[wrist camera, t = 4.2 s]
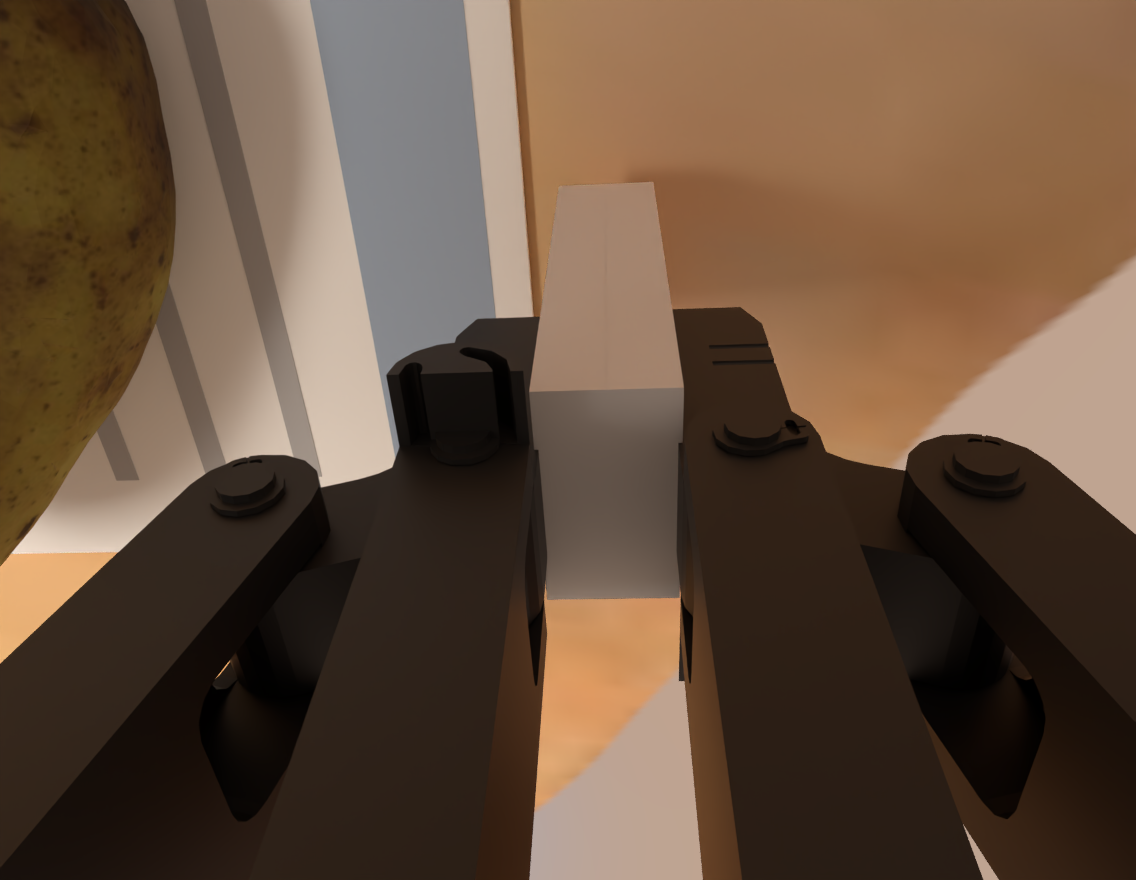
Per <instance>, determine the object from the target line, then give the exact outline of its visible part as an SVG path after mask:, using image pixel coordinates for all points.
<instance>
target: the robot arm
mask: <svg viewBox="0 0 1136 880" xmlns="http://www.w3.org/2000/svg"><path fill="white" fill-rule="evenodd" d="M386 378H387V383H388V388H389V394H390V399H391V405H392V410H393V415H394V421H395V426H396V431H397V437H398V442H399V449H398V452H397V455H396V458H395V461H394V464H393V467H392V468H390V469H387V470H385V471H383V472H381V473H379V474H375V475H372V476H368V477H365V478H361V479H358V480H353V481H348V482H344V483H339V484H335V485H330V486H326V487H321V485H320V481H319V477H318V473H317V470H315V469H314V468H313V467H312V466H311V465H310V464H309V463H307V462H306V461H305V460H302V459H298V458H295V457H291V456H287V455H256V456H249V458H246V457H244V458H240V459H236V460H233V461H231V462H229V463H227V464H225V465H222V466H220V467H218V468H215V469H213V470H210V471H209V472H207V473H206V474H204V475H203V476H202V477H200V478H199V479H197V480H196V481H195V482H193V483H192V484H190V485H189V486H188V487H187V488H186V489H185V490H184V491H183V492H182V493H181V494H180V495H178V496H177V497H176V498H175V499H174V500H173V501H172V502H171V503H170V504H169V505H168V506H167V507H166V508H165V509H164V510H163V511H162V512H160V513H159V514H158V515H157V516H156V517H155V518H154V519H153V520H152V521H151V522H150V523H149V524H148V525H147V526H146V527H145V528H144V529H142V530H141V531H140V532H139V533H138V534H137V535H136V536H135V537H134V538H133V539H132V540H131V541H130V542H129V543H128V544H127V545H126V546H124V547H123V548H122V549H121V550H120V551H119V552H118V553H117V554H116V555H115V556H114V557H113V558H112V559H111V560H110V561H109V562H108V563H106V564H105V565H104V566H103V567H102V568H101V569H100V570H99V571H98V572H97V573H96V574H95V575H94V576H93V577H92V578H91V579H90V580H88V581H87V582H86V583H85V584H84V585H83V586H82V587H81V588H80V589H79V590H78V591H77V592H76V593H75V594H74V595H73V596H72V597H70V598H69V599H68V600H67V601H66V602H65V603H64V604H63V605H62V606H61V607H60V608H59V609H58V610H57V611H56V612H55V613H54V614H52V615H51V616H50V617H49V618H48V619H47V620H46V621H45V622H44V623H43V624H42V625H41V626H40V627H39V628H38V629H37V630H36V631H34V632H33V633H32V634H31V635H30V636H29V637H28V638H27V639H26V640H25V641H24V642H23V643H22V644H21V645H20V646H19V647H18V648H16V649H15V650H14V651H13V652H12V653H11V654H10V655H9V656H8V657H7V658H6V659H5V660H4V661H3V662H2V663H1V664H0V880H529V876H530V861H531V847H532V834H533V820H534V807H535V793H536V779H537V765H538V751H539V737H540V724H541V710H542V696H543V682H544V668H545V654H546V640H547V628H546V617H545V606H544V593H545V581H546V590H547V600H554V599H625V598H680V591H681V612H680V657H679V681H685V690H686V699H687V700H686V701H687V712H688V722H689V733H690V744H691V755H692V765H693V776H694V787H695V798H696V809H697V820H698V830H699V841H700V852H701V863H702V873H703V880H983V878H982V875H981V872H980V870H979V867H978V864H977V861H976V859H975V856H974V853H973V851H972V848H971V845H970V842H969V840H968V837H967V834H966V832H965V829H964V826H965V827H966V829H967V831H968V832H969V834H970V835H971V837H972V839H973V840H974V841H975V843H976V845H977V846H978V848H979V849H980V851H981V852H982V854H983V855H984V857H985V859H986V860H987V862H988V863H989V865H990V866H991V868H992V869H993V871H994V873H995V874H996V876H997V877H998V879H999V880H1136V534H1134V533H1133V532H1132V531H1131V530H1129V529H1128V528H1127V527H1126V526H1125V525H1124V524H1122V523H1121V522H1120V521H1119V520H1118V519H1116V518H1115V517H1114V516H1113V515H1112V514H1110V513H1109V512H1108V511H1107V510H1106V509H1105V508H1103V507H1102V506H1101V505H1100V504H1099V503H1097V502H1096V501H1095V500H1094V499H1093V498H1091V497H1090V496H1089V495H1088V494H1087V493H1086V492H1084V491H1083V490H1082V489H1081V488H1080V487H1078V486H1077V485H1076V484H1075V483H1074V482H1072V481H1071V480H1070V479H1069V478H1067V477H1066V476H1065V475H1064V474H1063V473H1062V472H1060V471H1059V470H1058V469H1057V468H1056V467H1055V466H1053V465H1052V464H1051V463H1050V462H1048V461H1047V460H1045V459H1043V458H1042V457H1040V456H1039V455H1037V454H1035V453H1034V452H1032V451H1031V450H1029V449H1027V448H1025V447H1022V446H1019V445H1016V444H1014V443H1011V442H1008V441H1005V440H1003V439H1000V438H997V437H992V436H987V435H986V436H982V435H977V434H960V435H942V436H939V437H936V438H933V439H930V440H926V441H923V442H921V443H920V444H919V445H918V446H917V447H915V448H914V449H913V450H912V451H911V452H910V453H909V454H908V459H907V465H906V470H905V471H903V470H897V469H891V468H885V467H879V466H873V465H867V464H863V463H858V462H854V461H850V460H846V459H843V458H840V457H838V456H835V455H833V454H830V453H827V452H826V451H825V448H824V445H823V443H822V440H821V437H820V435H819V434H818V432H817V431H816V430H815V428H814V427H813V426H812V424H811V423H810V422H809V421H807V420H805V419H804V418H802V417H800V416H799V415H797V414H795V413H793V412H792V411H791V409H790V406H789V403H788V400H787V397H786V394H785V391H784V388H783V385H782V382H781V379H780V376H779V373H778V370H777V367H776V364H774V358H773V355H772V353H771V350H770V347H768V341H767V338H766V335H765V332H764V329H763V326H762V324H761V323H760V322H759V321H758V320H756V319H755V318H754V317H752V316H751V315H750V314H748V313H747V312H746V311H744V310H743V309H742V308H741V307H733V308H703V309H672V304H671V297H670V290H669V284H668V277H667V270H666V263H665V257H664V250H663V243H662V237H661V230H660V223H659V216H658V210H657V203H656V196H655V190H654V183H653V182H637V183H613V184H588V185H564V186H559V188H558V195H557V202H556V209H555V216H554V223H553V230H552V237H551V244H550V251H549V258H548V265H547V271H546V278H545V285H544V292H543V299H542V306H541V313H540V317H515V318H484V319H476V320H475V321H474V322H473V323H472V324H471V325H469V326H468V327H467V328H466V329H465V330H464V331H462V332H461V333H460V334H459V335H458V336H457V337H456V340H455V343H447V344H439V345H435V346H432V347H429V348H425V349H422V350H419V351H416V352H413V353H412V354H410V355H408V356H406V357H405V358H403V359H401V360H399V361H398V362H396V363H395V365H394V366H393V367H392V368H391V369H390V371H389V372H388V373H387V374H386ZM229 660H230V663H229V664H228V665H227V667H226V668H225V669H224V671H223V672H222V673H221V674H220V676H218V674H219V673H220V672H221V671H222V669H223V668H224V667H225V665H226V664H227V663H228V662H229ZM217 676H218V677H217ZM216 677H217V678H216ZM215 678H216V679H215ZM963 824H964V826H963Z"/></svg>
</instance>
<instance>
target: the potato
mask: <svg viewBox="0 0 1136 880" xmlns="http://www.w3.org/2000/svg"><path fill="white" fill-rule="evenodd" d="M175 227H176V190H175V183H174V175H173V168H172V161H171V153H170V149H169V144H168V139H167V134H166V130H165V125H164V120H163V115H162V109H161V103H160V97H159V91H158V86H157V80H156V77H155V73H154V70H153V66H152V63H151V59H150V56H149V53H148V49H147V46H146V42H145V39H144V36H143V34H142V32H141V31H140V29H139V27H138V25H137V23H136V21H135V19H134V17H133V15H132V13H131V11H130V9H129V7H128V5H127V3H126V1H125V0H0V566H1V565H2V564H3V563H4V561H5V560H6V559H7V558H8V557H9V555H10V554H11V553H12V552H13V551H14V549H15V548H16V547H17V546H18V545H19V543H20V542H21V541H22V540H23V539H24V537H25V536H26V535H27V534H28V533H29V531H30V530H31V529H32V528H33V526H34V525H35V524H36V522H37V521H38V519H39V518H40V517H41V515H42V514H43V513H44V511H45V510H46V509H47V507H48V506H49V504H50V503H51V501H52V500H53V498H54V497H55V495H56V494H57V492H58V490H59V489H60V487H61V485H62V484H63V482H64V480H65V478H66V477H67V475H68V473H69V472H70V470H71V469H72V467H73V466H74V464H75V463H76V461H77V460H78V458H79V456H80V455H81V453H82V452H83V450H84V448H85V447H86V445H87V444H88V442H89V441H90V439H91V438H92V437H93V435H94V434H95V433H96V431H97V430H98V429H99V427H100V426H101V425H102V423H103V422H104V421H105V419H106V418H107V417H108V415H109V414H110V413H111V411H112V410H113V409H114V407H115V406H116V405H117V403H118V402H119V400H120V399H121V397H122V396H123V394H124V392H125V391H126V389H127V387H128V385H129V383H130V381H131V379H132V377H133V375H134V373H135V372H136V370H137V368H138V366H139V364H140V361H141V359H142V356H143V353H144V351H145V348H146V345H147V343H148V341H149V339H150V337H151V334H152V332H153V329H154V327H155V324H156V322H157V319H158V316H159V312H160V309H161V306H162V303H163V300H164V296H165V293H166V290H167V287H168V283H169V277H170V271H171V266H172V261H173V254H174V241H175Z"/></svg>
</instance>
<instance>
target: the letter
mask: <svg viewBox="0 0 1136 880" xmlns="http://www.w3.org/2000/svg"><path fill="white" fill-rule="evenodd" d="M125 1H126V3H127V5H128V7H129V9H130V11H131V13H132V15H133V17H134V19H135V21H136V23H137V25H138V27H139V29H140V31H141V32H142V34H143V36H144V39H145V42H146V46H147V49H148V53H149V56H150V59H151V63H152V66H153V70H154V73H155V77H156V80H157V86H158V91H159V97H160V103H161V109H162V115H163V120H164V125H165V130H166V134H167V139H168V144H169V149H170V153H171V161H172V168H173V175H174V183H175V190H176V227H175V241H174V254H173V261H172V266H171V271H170V277H169V283H168V287H167V290H166V293H165V296H164V300H163V303H162V306H161V309H160V312H159V316H158V319H157V322H156V324H155V327H154V329H153V332H152V334H151V337H150V339H149V341H148V343H147V345H146V348H145V351H144V353H143V356H142V359H141V361H140V364H139V366H138V368H137V370H136V372H135V373H134V375H133V377H132V379H131V381H130V383H129V385H128V387H127V389H126V391H125V392H124V394H123V396H122V397H121V399H120V400H119V402H118V403H117V405H116V406H115V407H114V409H113V410H112V411H111V413H110V414H109V415H108V417H107V418H106V419H105V421H104V422H103V423H102V425H101V426H100V427H99V429H98V430H97V431H96V433H95V434H94V435H93V437H92V438H91V439H90V441H89V442H88V444H87V445H86V447H85V448H84V450H83V452H82V453H81V455H80V456H79V458H78V460H77V461H76V463H75V464H74V466H73V467H72V469H71V470H70V472H69V473H68V475H67V477H66V478H65V480H64V482H63V484H62V485H61V487H60V489H59V490H58V492H57V494H56V495H55V497H54V498H53V500H52V501H51V503H50V504H49V506H48V507H47V509H46V510H45V511H44V513H43V514H42V515H41V517H40V518H39V519H38V521H37V522H36V524H35V525H34V526H33V528H32V529H31V530H30V531H29V533H28V534H27V535H26V536H25V537H24V539H23V540H22V541H21V542H20V543H19V545H18V546H17V547H16V548H15V549H14V551H13V552H12V553H11V554H26V553H92V552H119V551H120V550H121V549H122V548H123V547H124V546H126V545H127V544H128V543H129V542H130V541H131V540H132V539H133V538H134V537H135V536H136V535H137V534H138V533H139V532H140V531H141V530H142V529H144V528H145V527H146V526H147V525H148V524H149V523H150V522H151V521H152V520H153V519H154V518H155V517H156V516H157V515H158V514H159V513H160V512H162V511H163V510H164V509H165V508H166V507H167V506H168V505H169V504H170V503H171V502H172V501H173V500H174V499H175V498H176V497H177V496H178V495H180V494H181V493H182V492H183V491H184V490H185V489H186V488H187V487H188V486H189V485H190V484H192V483H193V482H195V481H196V480H197V479H199V478H200V477H202V476H203V475H204V474H206V473H207V472H209V471H210V470H213V469H215V468H218V467H220V466H222V465H225V464H227V463H229V462H231V461H233V460H236V459H240V458H244V457H246V458H249V456H256V455H287V456H291V457H295V458H298V459H302V460H305V461H306V462H307V463H309V464H310V465H311V466H312V467H313V468H314V469H315V470H317V473H318V477H319V481H320V485H321V487H326V486H330V485H335V484H339V483H344V482H348V481H353V480H358V479H361V478H365V477H368V476H372V475H375V474H379V473H381V472H383V471H385V470H387V469H390V468H392V467H393V464H394V461H395V458H396V455H397V452H398V449H399V442H398V437H397V431H396V426H395V421H394V415H393V410H392V405H391V399H390V394H389V388H388V383H387V378H386V374H387V373H388V372H389V371H390V369H391V368H392V367H393V366H394V365H395V363H396V362H398V361H399V360H401V359H403V358H405V357H406V356H408V355H410V354H412V353H413V352H416V351H419V350H422V349H425V348H429V347H432V346H435V345H439V344H447V343H455V340H456V337H457V336H458V335H459V334H460V333H461V332H462V331H464V330H465V329H466V328H467V327H468V326H469V325H471V324H472V323H473V322H474V321H475V320H476V319H484V318H515V317H534V313H533V300H532V287H531V274H530V261H529V248H528V235H527V222H526V209H525V196H524V183H523V170H522V157H521V144H520V131H519V118H518V105H517V92H516V79H515V66H514V53H513V40H512V27H511V14H510V1H509V0H125Z"/></svg>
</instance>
